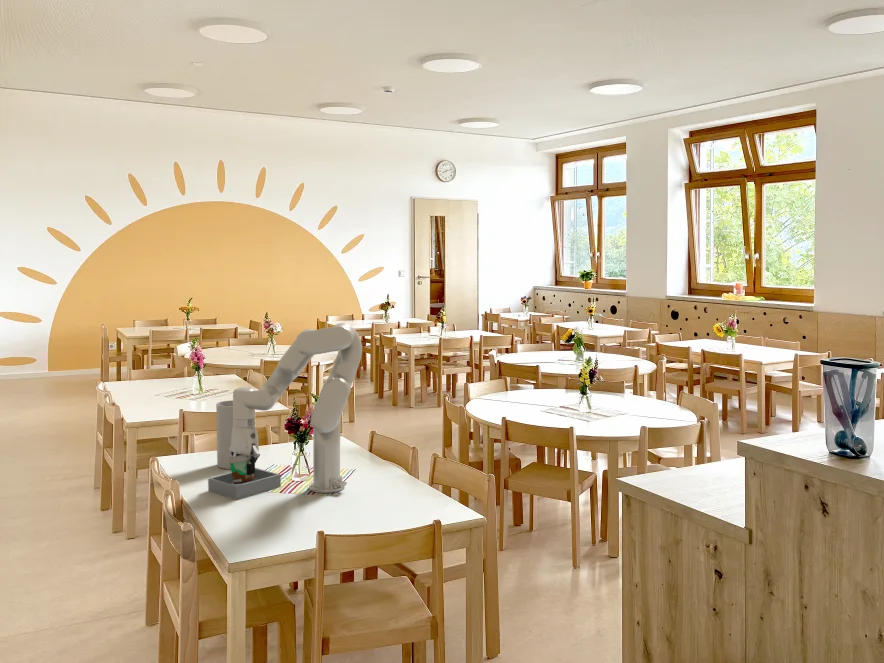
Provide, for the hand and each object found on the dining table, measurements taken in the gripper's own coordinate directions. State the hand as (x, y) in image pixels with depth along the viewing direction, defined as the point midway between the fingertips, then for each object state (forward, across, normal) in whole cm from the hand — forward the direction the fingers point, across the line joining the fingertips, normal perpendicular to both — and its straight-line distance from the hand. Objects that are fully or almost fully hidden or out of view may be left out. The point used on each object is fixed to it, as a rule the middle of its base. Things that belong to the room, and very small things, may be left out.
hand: (244, 471), depth 281 cm
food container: (+3, -1, 0) cm, 4 cm away
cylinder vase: (+6, +28, -17) cm, 33 cm away
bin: (+6, 0, 0) cm, 6 cm away
